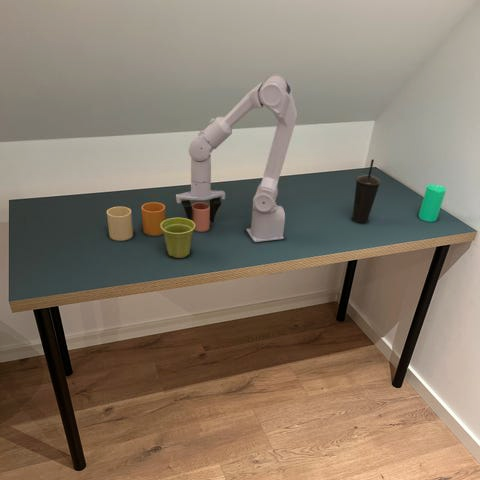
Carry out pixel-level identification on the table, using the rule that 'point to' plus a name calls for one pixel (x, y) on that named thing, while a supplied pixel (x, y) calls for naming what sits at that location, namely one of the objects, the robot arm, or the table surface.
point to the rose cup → (201, 216)
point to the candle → (432, 202)
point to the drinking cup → (364, 196)
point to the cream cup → (120, 223)
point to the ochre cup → (153, 218)
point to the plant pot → (178, 236)
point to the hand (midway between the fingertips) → (200, 222)
